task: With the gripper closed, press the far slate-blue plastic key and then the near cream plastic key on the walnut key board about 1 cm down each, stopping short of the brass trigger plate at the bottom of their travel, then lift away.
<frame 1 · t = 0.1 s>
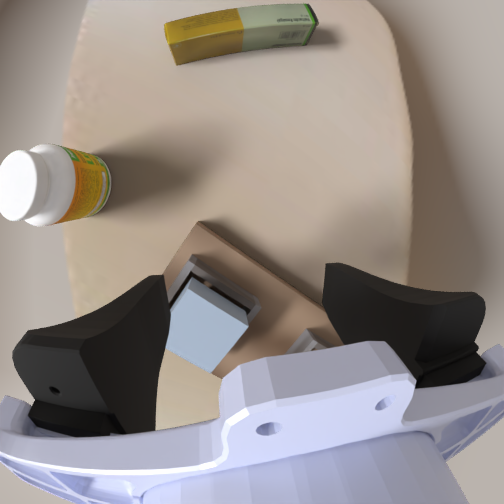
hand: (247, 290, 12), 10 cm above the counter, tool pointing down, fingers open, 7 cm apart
medication box: (239, 42, 19), on the counter
key board: (257, 330, 24), on the counter
blue key: (200, 326, 18), point 5 cm above the counter, slide at 0.0 cm
supplement bottle: (86, 185, 20), on the counter
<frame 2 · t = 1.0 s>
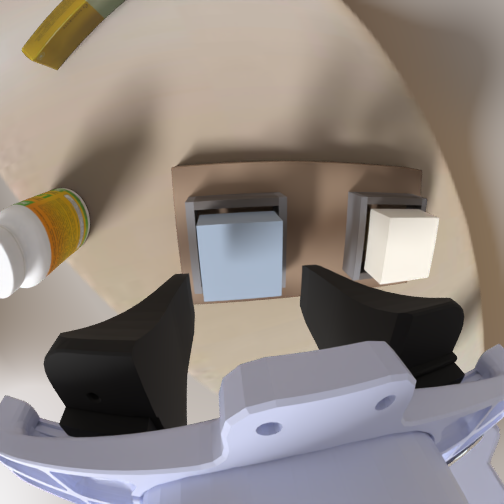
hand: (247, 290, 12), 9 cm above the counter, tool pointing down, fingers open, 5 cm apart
medication box: (99, 13, 13), on the counter
key board: (306, 225, 21), on the counter
blue key: (239, 255, 16), point 5 cm above the counter, slide at 0.0 cm
cream key: (401, 244, 17), point 5 cm above the counter, slide at 0.0 cm
supplement bottle: (66, 218, 19), on the counter
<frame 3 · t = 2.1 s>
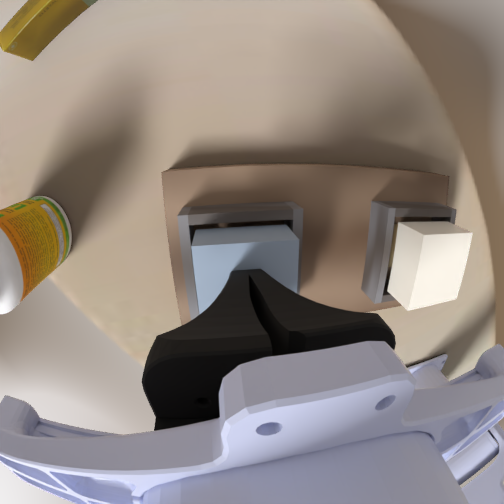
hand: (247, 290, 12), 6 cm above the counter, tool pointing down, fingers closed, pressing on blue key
key board: (320, 239, 18), on the counter
blue key: (245, 278, 13), point 5 cm above the counter, slide at 0.2 cm, touching gripper
cream key: (431, 262, 14), point 5 cm above the counter, slide at 0.0 cm
supplement bottle: (46, 230, 16), on the counter
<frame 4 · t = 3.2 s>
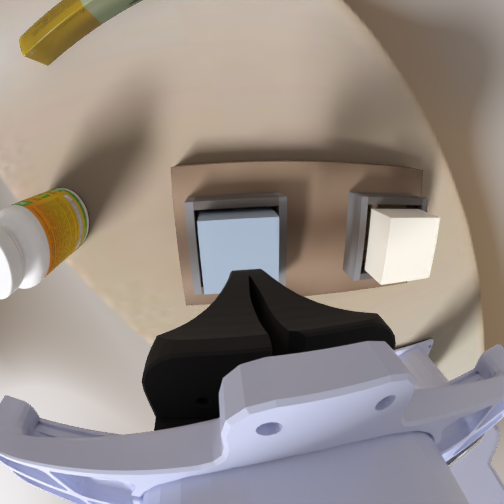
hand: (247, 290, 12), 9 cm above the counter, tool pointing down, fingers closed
medication box: (100, 15, 13), on the counter
key board: (306, 225, 21), on the counter
blue key: (238, 249, 17), point 4 cm above the counter, slide at 0.9 cm
cream key: (402, 244, 17), point 5 cm above the counter, slide at 0.0 cm
supplement bottle: (65, 218, 19), on the counter
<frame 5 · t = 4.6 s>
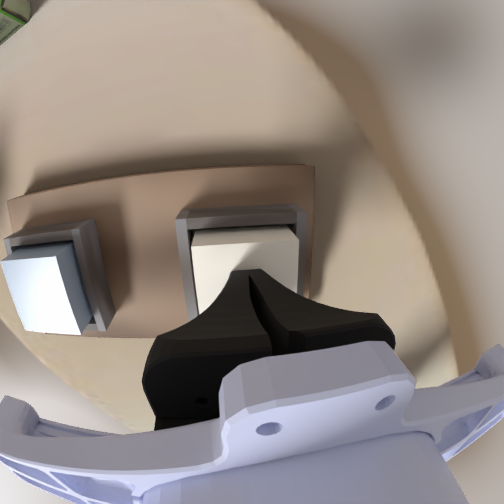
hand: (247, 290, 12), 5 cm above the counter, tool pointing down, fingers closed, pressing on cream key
key board: (151, 253, 17), on the counter
blue key: (47, 287, 12), point 4 cm above the counter, slide at 0.9 cm
cream key: (245, 279, 13), point 4 cm above the counter, slide at 0.9 cm, touching gripper
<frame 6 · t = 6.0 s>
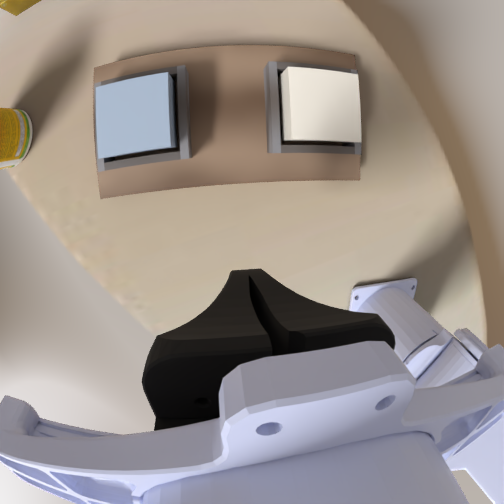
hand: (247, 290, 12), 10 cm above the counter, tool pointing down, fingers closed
key board: (226, 114, 18), on the counter
blue key: (136, 116, 14), point 4 cm above the counter, slide at 0.9 cm
cream key: (319, 106, 15), point 4 cm above the counter, slide at 0.9 cm
supplement bottle: (15, 137, 16), on the counter
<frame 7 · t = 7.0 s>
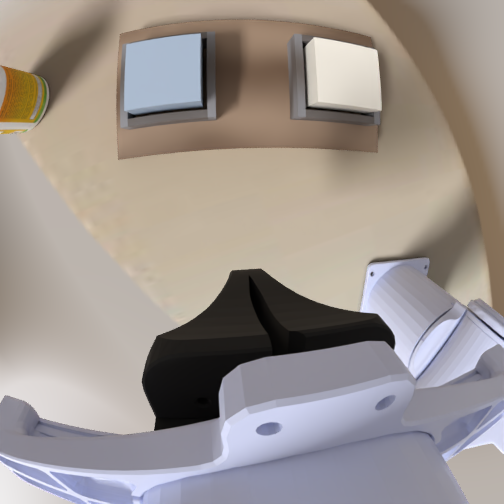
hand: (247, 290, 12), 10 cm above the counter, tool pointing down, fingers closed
key board: (249, 84, 18), on the counter
blue key: (165, 74, 13), point 4 cm above the counter, slide at 0.9 cm
cream key: (342, 76, 14), point 4 cm above the counter, slide at 0.9 cm
supplement bottle: (30, 104, 15), on the counter
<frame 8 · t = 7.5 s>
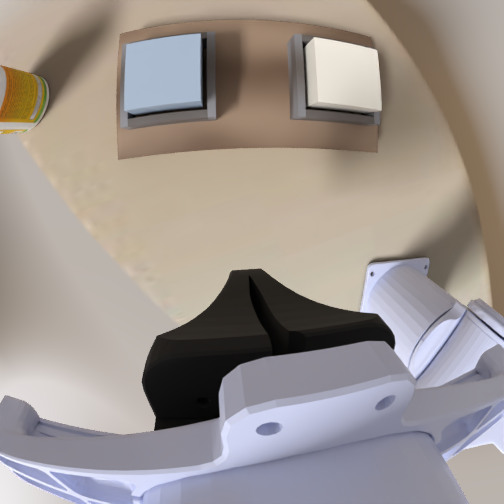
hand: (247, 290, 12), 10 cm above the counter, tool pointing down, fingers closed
key board: (249, 84, 18), on the counter
blue key: (165, 74, 13), point 4 cm above the counter, slide at 0.9 cm
cream key: (342, 76, 14), point 4 cm above the counter, slide at 0.9 cm
supplement bottle: (30, 104, 15), on the counter
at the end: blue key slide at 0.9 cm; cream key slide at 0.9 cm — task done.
